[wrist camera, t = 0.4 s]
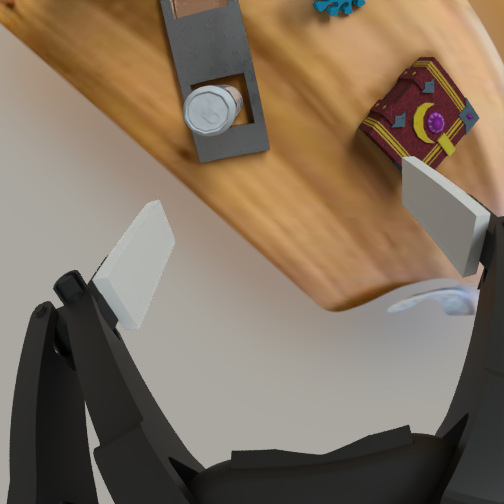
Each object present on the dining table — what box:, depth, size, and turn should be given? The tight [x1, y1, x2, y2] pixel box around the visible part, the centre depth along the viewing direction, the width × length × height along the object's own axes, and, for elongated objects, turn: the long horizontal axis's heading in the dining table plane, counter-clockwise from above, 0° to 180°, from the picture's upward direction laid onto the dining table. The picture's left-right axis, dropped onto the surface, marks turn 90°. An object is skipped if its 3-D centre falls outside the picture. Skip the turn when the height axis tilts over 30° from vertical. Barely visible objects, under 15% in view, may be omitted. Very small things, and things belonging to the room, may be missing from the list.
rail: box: [160, 0, 270, 163], centre depth 27 cm, size 30×9×2 cm, turn 11°
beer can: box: [183, 85, 243, 136], centre depth 27 cm, size 5×5×12 cm
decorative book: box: [359, 57, 479, 173], centre depth 29 cm, size 11×16×5 cm
